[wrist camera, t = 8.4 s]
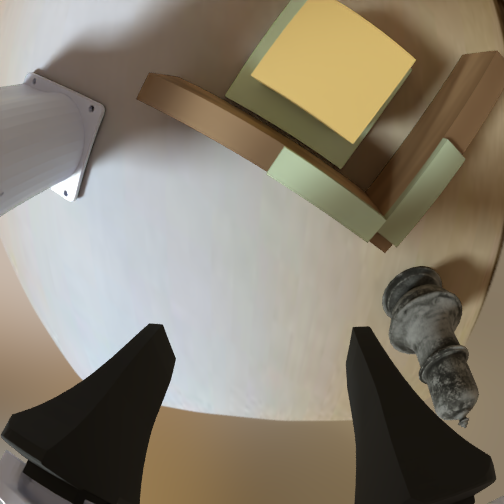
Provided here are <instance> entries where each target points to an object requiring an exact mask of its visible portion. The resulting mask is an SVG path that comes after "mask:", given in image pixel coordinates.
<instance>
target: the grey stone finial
mask: <svg viewBox="0 0 504 504" xmlns="http://www.w3.org/2000/svg"><path fill="white" fill-rule="evenodd" d="M382 304H383V308H384V311H385V313H386V314H387V316H389V317H390V318H391V325H390V330H389V339H390V343H391V344H392V346H393V347H394V348H395V349H396V350H398V351H400V352H402V353H406V354H416V355H417V358H418V361H419V364H420V367H421V368H420V371H419V379H420V380H421V382H423V383H425V384H428V388H429V391H430V394H431V398H432V401H433V404H434V407H435V411H436V413H437V415H438V417H440V418H442V419H444V420H458V419H459V421H460V422H459V424H458V425H461V427H464V428H466V427H467V424H468V420H469V418H466V415H467V414H468V413H469V411H470V410H471V409H472V408H473V406H474V405H475V404H476V402H477V399H478V395H479V394H478V388H477V385H476V383H475V380H474V378H473V376H472V373H471V371H470V369H469V366H468V364H467V360H468V356H469V352H468V350H467V348H466V347H465V346H462V345H460V344H459V342H458V340H457V338H456V336H455V334H454V331H455V330H456V328H457V326H458V324H459V322H460V319H461V316H462V305H461V302H460V300H459V298H458V297H457V296H456V295H455V294H453V293H451V292H448V291H447V290H445V289H443V288H442V281H441V279H440V277H439V275H438V274H437V273H436V272H435V271H434V270H433V269H431V268H428V267H421V266H420V267H413V268H410V269H407V270H405V271H403V272H402V273H400V274H399V275H397V276H396V277H395V278H394V279H393V280H392V281H391V282H390V283H389V285H388V286H387V288H386V289H385V292H384V295H383V300H382Z"/></svg>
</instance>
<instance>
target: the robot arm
mask: <svg viewBox="0 0 504 504" xmlns="http://www.w3.org/2000/svg"><path fill="white" fill-rule="evenodd" d="M92 106H94V111H92ZM104 113H105V108H104V106H103V105H102V104H100V103H98V102H96V101H94V100H92V99H90V98H88V97H86V96H83V95H81V94H79V93H77V92H75V91H73V90H71V89H69V88H66V87H64V86H62V85H60V84H58V83H55V82H53V81H51V80H49V79H46V78H44V77H42V76H40V75H37V74H35V73H28V74H27V75H26V77H25V80H24V83H23V84H18V85H11V86H5V87H0V217H1V216H2V215H4V214H5V213H7V212H9V211H10V210H12V209H14V208H15V207H17V206H19V205H20V204H22V203H24V202H25V201H27V200H29V199H31V198H32V197H34V196H36V195H38V194H39V193H41V192H43V191H45V190H47V189H49V188H51V189H52V190H54V191H55V192H56V193H58V194H59V195H61V196H62V197H64V198H65V199H67V200H68V201H70V202H73V201H75V200H76V199H77V196H78V193H79V189H80V185H81V181H82V178H83V174H84V171H85V168H86V164H87V161H88V158H89V155H90V152H91V149H92V146H93V143H94V140H95V137H96V134H97V131H98V129H99V126H100V123H101V121H102V118H103V115H104ZM67 192H68V194H67ZM175 360H176V358H175V355H174V353H173V350H172V348H171V345H170V343H169V340H168V337H167V335H166V332H165V329H164V327H163V325H162V324H148V325H147V326H146V327H145V328H144V329H143V330H141V331H140V332H139V333H138V334H137V335H136V336H135V337H134V338H133V339H132V340H131V341H129V342H128V343H127V344H126V345H125V346H124V347H123V348H122V349H121V350H120V351H118V352H117V353H116V354H115V355H114V356H113V357H112V358H111V359H109V360H108V361H107V362H106V363H105V364H103V365H102V366H101V367H100V368H99V369H97V370H96V371H95V372H94V373H92V374H91V375H90V376H88V377H87V378H86V379H84V380H83V381H82V382H80V383H78V384H77V385H75V386H74V387H73V388H71V389H69V390H67V391H66V392H64V393H62V394H60V395H59V396H57V397H55V398H53V399H51V400H49V401H47V402H45V403H43V404H41V405H38V406H36V407H33V408H31V409H28V410H25V411H22V412H19V413H16V414H12V416H11V418H10V419H9V421H8V423H7V425H6V426H5V428H4V430H3V432H2V434H1V438H2V439H3V440H4V441H5V442H7V443H8V444H9V445H10V446H11V447H13V448H14V449H15V450H16V451H18V452H19V453H20V454H21V455H22V456H24V457H25V458H26V459H28V461H27V463H24V462H23V461H21V460H20V459H19V458H17V457H16V456H14V455H13V454H12V453H10V452H9V451H8V450H6V451H5V452H4V454H3V456H2V458H1V460H0V500H1V501H2V502H3V503H4V504H140V491H141V481H142V474H143V467H144V462H145V457H146V452H147V447H148V443H149V439H150V435H151V431H152V428H153V425H154V422H155V419H156V417H157V414H158V412H159V409H160V406H161V404H162V401H163V399H164V396H165V394H166V391H167V389H168V386H169V383H170V381H171V377H172V373H173V369H174V365H175ZM346 374H347V388H348V394H349V400H350V406H351V413H352V419H353V425H354V432H355V441H356V489H355V504H474V503H475V499H474V495H475V494H476V493H478V492H480V491H482V490H483V489H485V488H486V487H488V486H490V485H491V484H492V483H494V481H495V480H496V475H495V470H494V465H493V462H492V459H491V457H490V456H489V455H488V454H486V453H485V452H483V451H481V450H480V449H478V448H476V447H475V446H473V445H472V444H470V443H469V442H468V441H466V440H465V439H464V438H462V437H461V436H460V435H458V434H457V433H456V432H455V431H454V430H453V429H451V428H450V427H449V426H448V425H447V424H446V423H445V422H444V421H442V420H441V419H440V418H439V417H438V416H437V415H436V414H435V413H434V412H433V411H432V410H431V409H430V408H429V407H428V406H427V405H426V404H425V403H424V401H423V400H422V399H421V398H420V397H419V396H418V395H417V393H416V392H415V391H414V390H413V389H412V387H411V386H410V385H409V384H408V382H407V381H406V380H405V379H404V377H403V376H402V375H401V373H400V372H399V370H398V369H397V368H396V366H395V365H394V363H393V362H392V361H391V359H390V358H389V356H388V355H387V353H386V352H385V350H384V349H383V347H382V346H381V344H380V342H379V341H378V339H377V338H376V336H375V334H374V333H373V331H372V329H371V328H370V327H369V326H367V327H353V329H352V334H351V340H350V345H349V350H348V355H347V360H346ZM487 504H504V496H501V497H499V498H497V499H495V500H493V501H491V502H489V503H487Z"/></svg>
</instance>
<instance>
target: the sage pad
mask: <svg viewBox="0 0 504 504" xmlns="http://www.w3.org/2000/svg"><path fill="white" fill-rule="evenodd" d="M306 1H307V0H291V1H290V2H289V3H288V5H287V6H286V7H285V9H284V10H283V11H282V12H281V14H280V15H279V16H278V18H277V19H276V20H275V22H274V23H273V24H272V26H271V27H270V29H269V30H268V31H267V33H266V34H265V36H264V37H263V38H262V40H261V41H260V43H259V44H258V45H257V47H256V48H255V50H254V51H253V53H252V54H251V56H250V57H249V59H248V60H247V62H246V63H245V65H244V66H243V68H242V69H241V71H240V72H239V74H238V75H237V77H236V79H235V80H234V82H233V83H232V85H231V87H230V88H229V90H228V91H227V93H226V95H225V97H227V98H229V99H231V100H233V101H235V102H236V103H238V104H240V105H242V106H243V107H245V108H247V109H249V110H250V111H252V112H254V113H256V114H257V115H259V116H261V117H262V118H264V119H266V120H267V121H269V122H271V123H272V124H274V125H276V126H277V127H279V128H280V129H282V130H284V131H285V132H287V133H288V134H290V135H292V136H293V137H295V138H296V139H298V140H299V141H301V142H302V143H304V144H305V145H307V146H308V147H310V148H311V149H313V150H314V151H316V152H317V153H319V154H320V155H321V156H323V157H324V158H326V159H327V160H329V161H330V162H331V163H333V164H334V165H336V166H337V167H338V168H340V169H341V168H342V167H343V166H344V164H345V163H346V162H347V160H348V159H349V158H350V156H351V155H352V154H353V152H354V151H355V149H356V148H357V147H358V145H359V144H360V143H361V141H362V140H363V138H364V137H365V136H366V134H367V133H368V132H369V130H370V129H371V127H372V126H373V125H374V123H375V122H376V121H377V119H378V118H379V116H380V115H381V114H382V112H383V111H384V109H385V108H386V107H387V105H388V104H389V102H390V101H391V100H392V98H393V97H394V95H395V94H396V93H397V91H398V90H399V88H400V87H401V85H402V84H403V83H404V81H405V80H406V78H407V77H408V75H409V74H410V73H411V71H412V69H411V68H410V69H409V70H408V72H407V73H406V75H405V76H404V77H403V79H402V80H401V81H400V83H399V84H398V85H397V87H396V88H395V89H394V91H393V92H392V93H391V95H390V96H389V97H388V99H387V100H386V101H385V103H384V104H383V105H382V107H381V108H380V109H379V111H378V112H377V113H376V115H375V116H374V117H373V119H372V120H371V121H370V123H369V124H368V125H367V127H366V128H365V129H364V131H363V132H362V133H361V135H360V136H359V137H358V138H357V140H356V141H355V142H354V144H352V143H351V142H349V141H348V140H346V139H345V138H343V137H342V136H340V135H339V134H337V133H335V132H334V131H333V130H331V129H330V128H329V127H327V126H326V125H324V124H323V123H322V122H320V121H319V120H317V119H316V118H315V117H313V116H312V115H310V114H309V113H307V112H306V111H304V110H303V109H301V108H300V107H298V106H297V105H295V104H294V103H292V102H291V101H289V100H288V99H286V98H285V97H283V96H281V95H280V94H278V93H277V92H275V91H273V90H272V89H270V88H268V87H267V86H265V85H263V84H262V83H260V82H259V81H258V80H256V79H255V78H254V77H252V76H251V74H252V73H253V71H254V70H255V68H256V67H257V65H258V64H259V63H260V61H261V60H262V58H263V57H264V56H265V54H266V53H267V51H268V50H269V49H270V47H271V46H272V45H273V43H274V42H275V41H276V39H277V38H278V37H279V35H280V34H281V33H282V31H283V30H284V29H285V27H286V26H287V25H288V24H289V22H290V21H291V20H292V19H293V17H294V16H295V15H296V14H297V12H298V11H299V10H300V9H301V7H302V6H303V5H304V4H305V3H306Z"/></svg>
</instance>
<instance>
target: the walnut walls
mask: <svg viewBox="0 0 504 504" xmlns="http://www.w3.org/2000/svg"><path fill="white" fill-rule="evenodd" d="M503 89H504V58H503V57H502V56H501V55H500V53H499V52H498V51H488V52H480V53H472V54H465V55H462V57H461V58H460V60H459V61H458V63H457V64H456V66H455V68H454V69H453V71H452V72H451V74H450V75H449V77H448V78H447V80H446V81H445V83H444V84H443V86H442V87H441V89H440V90H439V92H438V93H437V95H436V96H435V98H434V99H433V101H432V102H431V104H430V105H429V107H428V108H427V110H426V111H425V112H424V114H423V115H422V117H421V118H420V120H419V121H418V122H417V124H416V125H415V127H414V128H413V129H412V131H411V132H410V134H409V135H408V136H407V138H406V139H405V141H404V142H403V143H402V145H401V146H400V147H399V149H398V150H397V152H396V153H395V154H394V156H393V157H392V158H391V160H390V161H389V162H388V164H387V165H386V166H385V168H384V169H383V170H382V172H381V173H380V174H379V176H378V177H377V178H376V180H375V181H374V182H373V183H372V185H371V186H370V187H369V189H368V190H367V191H366V192H365V191H363V190H362V189H361V188H359V187H358V186H357V185H355V184H354V183H353V182H351V181H350V180H349V179H347V178H346V177H345V176H343V175H342V174H341V173H339V172H338V171H336V170H335V169H334V168H332V167H331V166H329V165H328V164H327V163H325V162H324V161H322V160H321V159H319V158H318V157H317V156H315V155H314V154H312V153H311V152H309V151H308V150H306V149H305V148H303V147H302V146H300V145H299V144H297V143H296V142H294V141H292V140H291V139H289V138H288V137H286V136H285V135H283V134H281V133H280V132H278V131H277V130H275V129H273V128H272V127H270V126H269V125H267V124H265V123H264V122H262V121H260V120H259V119H257V118H255V117H253V116H252V115H250V114H248V113H247V112H245V111H243V110H241V109H239V108H238V107H236V106H234V105H232V104H230V103H229V102H227V101H225V100H223V99H221V98H219V97H217V96H216V95H214V94H212V93H210V92H208V91H206V90H204V89H202V88H200V87H198V86H196V85H194V84H192V83H190V82H188V81H186V80H184V79H182V78H180V77H176V76H170V75H163V74H156V73H149V74H148V76H147V78H146V80H145V82H144V84H143V86H142V88H141V90H140V92H139V94H138V96H137V98H136V99H137V100H139V101H141V102H143V103H145V104H147V105H149V106H151V107H153V108H155V109H157V110H159V111H161V112H163V113H165V114H167V115H169V116H171V117H173V118H175V119H176V120H178V121H180V122H182V123H184V124H186V125H188V126H189V127H191V128H193V129H195V130H197V131H199V132H200V133H202V134H204V135H206V136H208V137H209V138H211V139H213V140H215V141H216V142H218V143H220V144H222V145H223V146H225V147H227V148H229V149H230V150H232V151H234V152H235V153H237V154H239V155H240V156H242V157H244V158H245V159H247V160H249V161H250V162H252V163H254V164H255V165H257V166H259V167H260V168H262V169H264V170H265V171H267V175H268V176H270V177H271V178H273V179H275V180H276V181H278V182H279V183H281V184H283V185H284V186H286V187H287V188H289V189H290V190H292V191H293V192H295V193H296V194H298V195H299V196H301V197H303V198H304V199H306V200H307V201H309V202H310V203H312V204H313V205H315V206H316V207H317V208H319V209H320V210H322V211H323V212H325V213H326V214H328V215H329V216H331V217H332V218H334V219H335V220H336V221H338V222H339V223H341V224H342V225H344V226H345V227H346V228H348V229H349V230H351V231H352V232H353V233H355V234H356V235H358V236H359V237H360V238H362V239H363V240H364V241H366V242H367V243H368V242H369V241H370V242H371V243H372V244H374V245H375V246H376V247H378V248H379V249H380V250H382V251H383V252H384V253H386V251H387V250H388V249H389V248H390V247H391V246H392V245H395V246H396V247H397V246H398V245H399V244H400V243H401V242H402V241H403V240H404V238H405V237H406V236H407V235H408V234H409V232H410V231H411V230H412V229H413V228H414V227H415V225H416V224H417V223H418V222H419V220H420V219H421V218H422V217H423V216H424V214H425V213H426V212H427V211H428V209H429V208H430V207H431V205H432V204H433V203H434V202H435V200H436V199H437V198H438V196H439V195H440V194H441V193H442V191H443V190H444V189H445V187H446V186H447V185H448V183H449V182H450V180H451V179H452V178H453V176H454V175H455V174H456V172H457V171H458V169H459V168H460V167H461V165H462V164H463V162H464V161H465V158H464V157H463V156H462V155H463V153H464V152H465V150H466V149H467V147H468V146H469V144H470V143H471V141H472V140H473V138H474V137H475V135H476V134H477V132H478V131H479V129H480V127H481V126H482V124H483V123H484V121H485V120H486V118H487V116H488V115H489V113H490V111H491V110H492V108H493V106H494V105H495V103H496V101H497V99H498V98H499V96H500V94H501V92H502V91H503Z"/></svg>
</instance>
